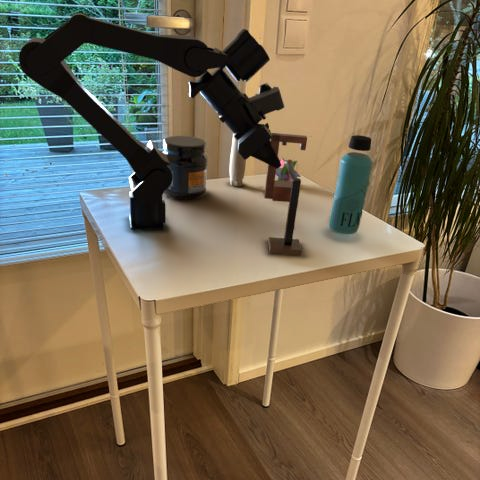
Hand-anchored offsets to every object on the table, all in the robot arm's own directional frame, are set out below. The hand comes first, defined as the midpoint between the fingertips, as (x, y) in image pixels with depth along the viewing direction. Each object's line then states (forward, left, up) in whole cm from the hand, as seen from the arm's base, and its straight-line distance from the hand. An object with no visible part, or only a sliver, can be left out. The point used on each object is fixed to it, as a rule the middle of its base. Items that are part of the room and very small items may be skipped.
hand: (279, 165), depth 100 cm
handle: (-2, +26, -13) cm, 29 cm away
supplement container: (-16, +20, -13) cm, 29 cm away
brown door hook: (+1, 0, -7) cm, 7 cm away
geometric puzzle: (+11, +26, -13) cm, 31 cm away
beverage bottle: (+14, -5, -13) cm, 20 cm away
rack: (+1, -5, -13) cm, 14 cm away
